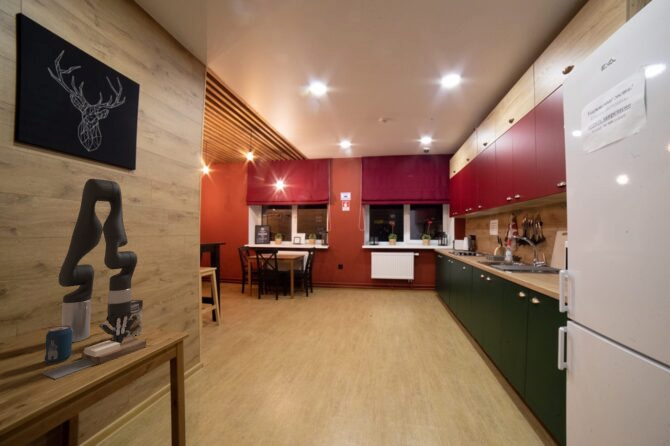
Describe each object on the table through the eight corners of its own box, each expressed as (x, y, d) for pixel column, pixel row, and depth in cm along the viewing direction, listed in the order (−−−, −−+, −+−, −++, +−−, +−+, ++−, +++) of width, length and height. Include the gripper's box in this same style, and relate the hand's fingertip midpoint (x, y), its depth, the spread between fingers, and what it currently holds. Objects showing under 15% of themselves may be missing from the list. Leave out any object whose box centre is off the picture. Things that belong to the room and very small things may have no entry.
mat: (41, 373, 90) (41, 372, 90) (84, 358, 100) (84, 358, 100) (55, 379, 86) (55, 378, 86) (97, 363, 97) (97, 362, 97)
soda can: (69, 354, 104) (71, 323, 104) (72, 359, 99) (73, 327, 100) (43, 360, 98) (45, 328, 99) (45, 366, 94) (46, 333, 94)
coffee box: (123, 341, 116) (124, 304, 117) (111, 340, 118) (113, 303, 118) (142, 333, 125) (143, 299, 126) (131, 332, 127) (132, 298, 127)
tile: (84, 353, 99) (84, 348, 99) (108, 345, 107) (109, 340, 107) (95, 357, 97) (95, 351, 97) (119, 348, 104) (120, 343, 104)
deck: (81, 357, 101) (81, 351, 101) (127, 342, 116) (127, 336, 116) (100, 364, 96) (100, 357, 96) (146, 347, 111) (146, 341, 111)
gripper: (131, 295, 115) (130, 336, 114) (94, 303, 103) (92, 348, 102) (142, 297, 112) (141, 338, 111) (106, 305, 100) (104, 351, 99)
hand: (118, 343), depth 107 cm, fingers closed
